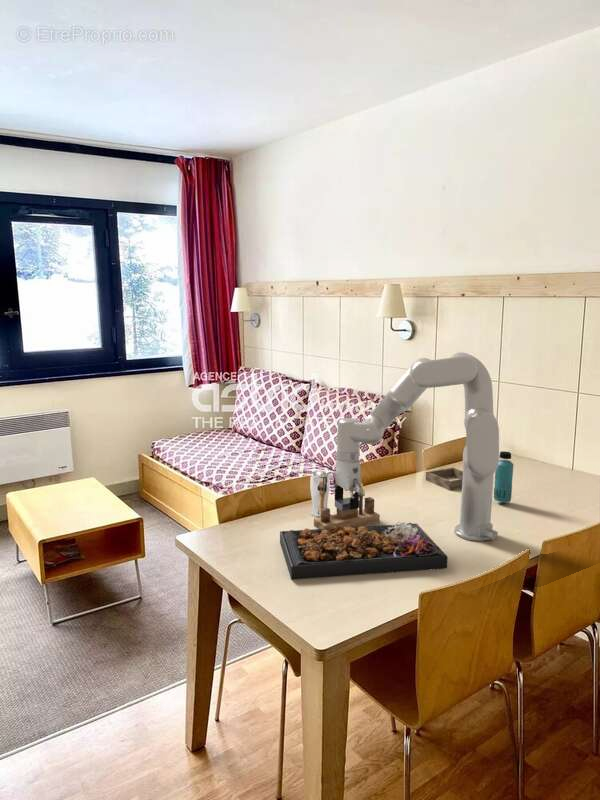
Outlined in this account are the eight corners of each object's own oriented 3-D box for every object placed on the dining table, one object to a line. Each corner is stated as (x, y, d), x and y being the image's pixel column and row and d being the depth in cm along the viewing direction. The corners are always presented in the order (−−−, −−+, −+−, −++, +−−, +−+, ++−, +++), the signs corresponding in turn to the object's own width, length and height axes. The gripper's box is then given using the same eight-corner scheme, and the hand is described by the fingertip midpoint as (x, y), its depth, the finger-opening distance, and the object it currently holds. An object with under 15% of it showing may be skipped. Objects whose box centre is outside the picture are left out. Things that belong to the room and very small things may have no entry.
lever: (357, 496, 199) (357, 492, 198) (357, 487, 208) (357, 483, 208) (364, 496, 199) (364, 492, 198) (364, 487, 208) (364, 483, 208)
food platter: (416, 536, 191) (417, 506, 189) (446, 570, 167) (448, 536, 165) (279, 544, 183) (279, 513, 182) (291, 581, 160) (291, 546, 158)
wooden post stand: (379, 521, 201) (380, 496, 199) (323, 532, 191) (324, 506, 189) (368, 514, 207) (368, 490, 205) (313, 525, 197) (314, 500, 196)
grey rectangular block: (359, 507, 197) (360, 500, 197) (342, 510, 194) (342, 503, 194) (352, 502, 202) (352, 495, 201) (334, 506, 199) (334, 498, 198)
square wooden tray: (477, 485, 241) (478, 476, 240) (449, 490, 234) (450, 481, 233) (452, 475, 254) (453, 467, 253) (425, 479, 247) (425, 471, 247)
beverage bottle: (508, 500, 222) (512, 450, 219) (513, 506, 216) (517, 454, 212) (491, 500, 223) (494, 449, 220) (495, 506, 216) (498, 454, 213)
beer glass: (327, 518, 204) (328, 477, 201) (308, 516, 205) (308, 475, 202) (330, 511, 210) (331, 471, 208) (311, 509, 212) (312, 470, 209)
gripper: (371, 460, 189) (369, 510, 192) (344, 448, 204) (342, 494, 207) (352, 463, 186) (350, 514, 189) (325, 450, 201) (324, 497, 204)
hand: (346, 504), depth 198 cm, fingers open, 9 cm apart
